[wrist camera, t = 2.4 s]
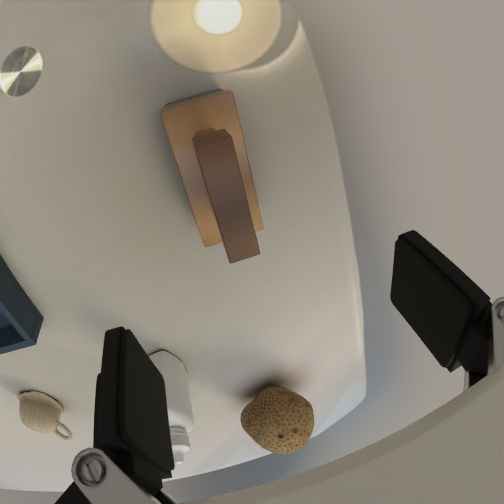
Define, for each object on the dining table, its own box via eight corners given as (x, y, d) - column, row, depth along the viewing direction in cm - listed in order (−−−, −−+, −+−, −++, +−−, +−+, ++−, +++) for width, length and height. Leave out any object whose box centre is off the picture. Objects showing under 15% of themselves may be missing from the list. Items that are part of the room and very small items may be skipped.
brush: (161, 105, 19) (157, 125, 13) (223, 88, 20) (252, 98, 13) (200, 226, 25) (215, 290, 19) (253, 210, 26) (285, 267, 19)
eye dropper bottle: (149, 379, 34) (158, 472, 24) (146, 348, 31) (152, 453, 21) (186, 378, 35) (202, 469, 26) (186, 348, 32) (204, 450, 23)
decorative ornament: (18, 384, 30) (11, 418, 26) (75, 401, 34) (72, 436, 30) (19, 398, 32) (13, 430, 27) (72, 414, 35) (70, 446, 31)
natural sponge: (312, 381, 43) (338, 438, 35) (265, 411, 45) (285, 467, 36) (275, 363, 38) (302, 431, 30) (224, 397, 40) (241, 462, 31)
